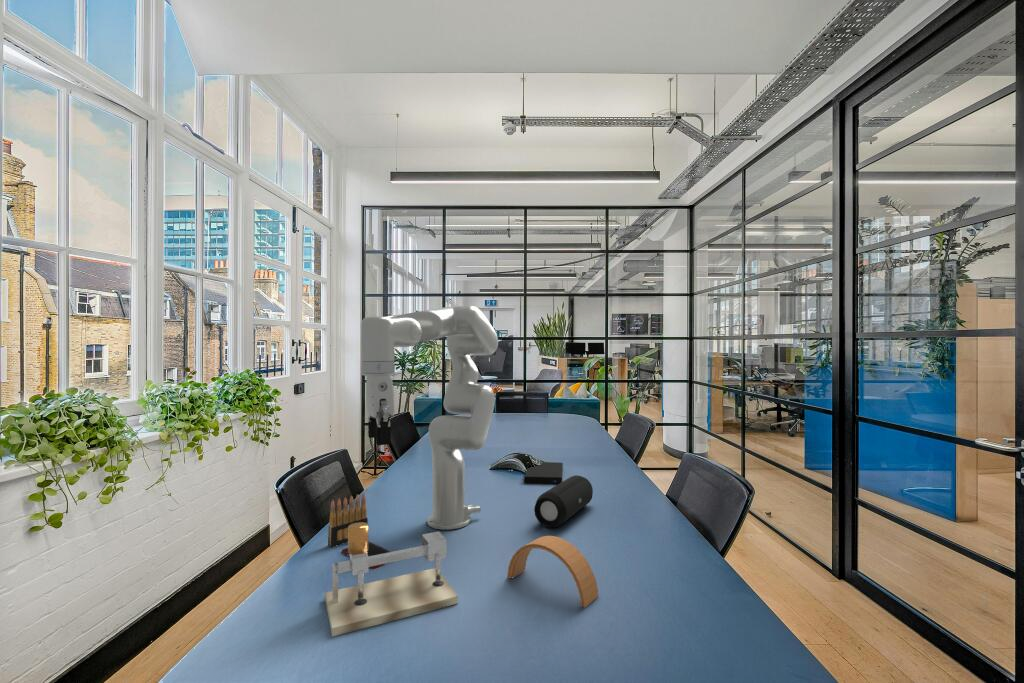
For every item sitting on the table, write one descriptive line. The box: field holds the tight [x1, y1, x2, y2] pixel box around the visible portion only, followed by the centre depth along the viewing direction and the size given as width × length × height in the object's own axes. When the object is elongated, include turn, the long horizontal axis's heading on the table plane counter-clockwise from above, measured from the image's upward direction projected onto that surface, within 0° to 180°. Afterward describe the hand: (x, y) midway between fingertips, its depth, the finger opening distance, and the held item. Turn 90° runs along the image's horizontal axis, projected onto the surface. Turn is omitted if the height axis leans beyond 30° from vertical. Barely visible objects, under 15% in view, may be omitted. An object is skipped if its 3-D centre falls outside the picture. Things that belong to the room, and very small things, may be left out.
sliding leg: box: [347, 522, 370, 600], centre depth 97 cm, size 4×5×14 cm
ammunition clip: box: [327, 492, 369, 548], centre depth 129 cm, size 11×2×12 cm, turn 135°
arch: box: [507, 535, 599, 609], centre depth 103 cm, size 6×20×10 cm, turn 50°
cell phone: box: [341, 541, 391, 570], centre depth 119 cm, size 8×15×1 cm, turn 49°
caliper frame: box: [331, 531, 447, 603], centre depth 100 cm, size 23×6×9 cm, turn 116°
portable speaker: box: [533, 475, 594, 528], centre depth 146 cm, size 26×10×10 cm, turn 149°
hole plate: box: [324, 567, 459, 637], centre depth 98 cm, size 24×14×2 cm, turn 116°
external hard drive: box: [523, 461, 564, 485], centre depth 191 cm, size 14×23×3 cm, turn 173°
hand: (379, 440), depth 113 cm, fingers open, 9 cm apart
